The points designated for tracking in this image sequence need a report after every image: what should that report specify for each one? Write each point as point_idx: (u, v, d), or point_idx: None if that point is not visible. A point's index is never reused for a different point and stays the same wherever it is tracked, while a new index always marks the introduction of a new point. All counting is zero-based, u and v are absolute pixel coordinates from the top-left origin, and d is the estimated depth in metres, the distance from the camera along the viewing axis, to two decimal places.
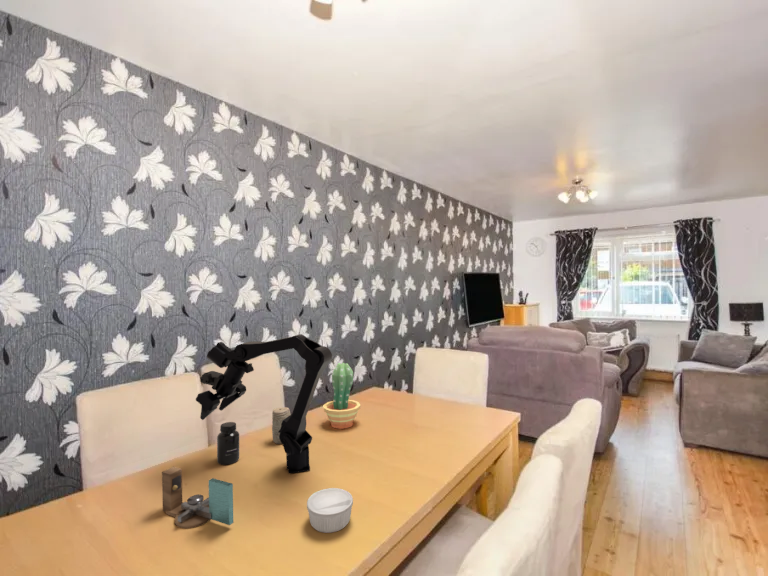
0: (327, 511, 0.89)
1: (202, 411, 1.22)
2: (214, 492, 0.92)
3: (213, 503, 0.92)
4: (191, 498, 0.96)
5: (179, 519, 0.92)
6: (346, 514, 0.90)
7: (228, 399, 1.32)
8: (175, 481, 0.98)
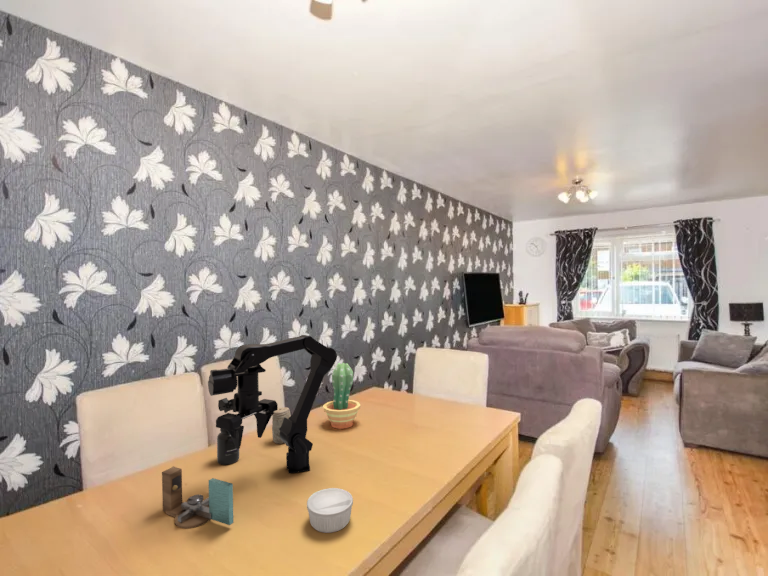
0: (327, 511, 0.89)
1: (233, 438, 1.06)
2: (214, 492, 0.92)
3: (213, 503, 0.92)
4: (191, 498, 0.96)
5: (179, 519, 0.92)
6: (346, 514, 0.90)
7: (261, 421, 1.15)
8: (175, 481, 0.98)
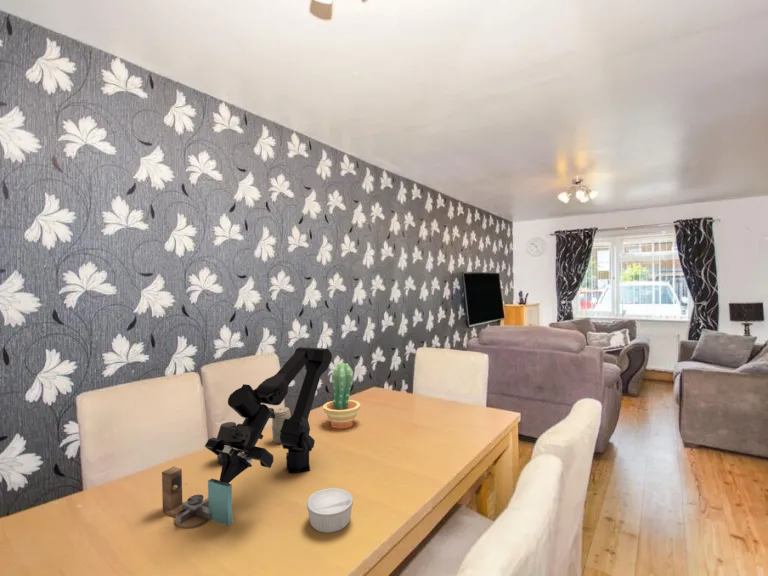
0: (327, 511, 0.89)
1: (230, 474, 0.94)
2: (213, 493, 0.92)
3: (212, 504, 0.92)
4: (191, 498, 0.96)
5: (179, 519, 0.92)
6: (346, 514, 0.90)
7: None
8: (175, 481, 0.98)
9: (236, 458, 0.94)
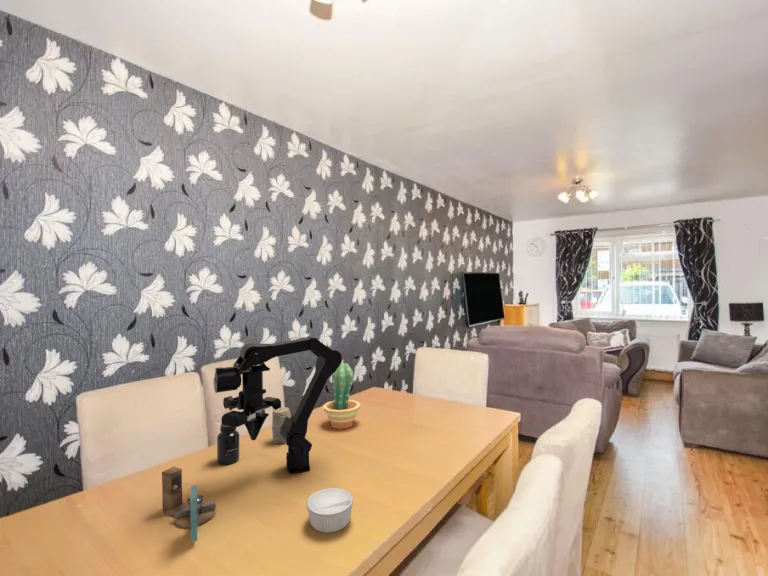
0: (327, 511, 0.89)
1: (248, 430, 1.12)
2: None
3: None
4: None
5: (175, 514, 0.94)
6: (346, 514, 0.90)
7: None
8: (175, 481, 0.98)
9: None
